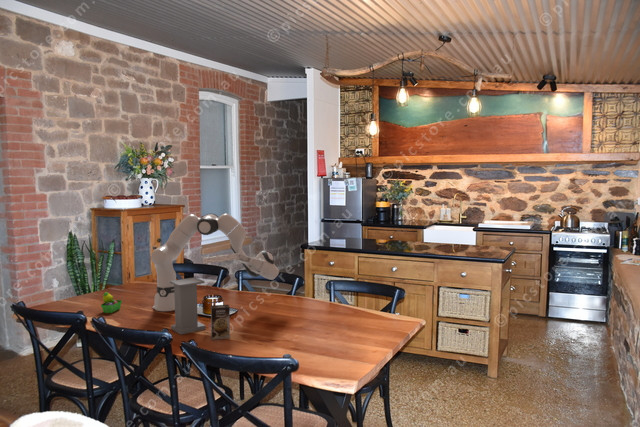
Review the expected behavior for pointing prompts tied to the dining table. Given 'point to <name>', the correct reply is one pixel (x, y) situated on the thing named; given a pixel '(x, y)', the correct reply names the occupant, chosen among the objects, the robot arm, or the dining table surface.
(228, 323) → the coffee box
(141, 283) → the dining table surface
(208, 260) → the beige wooden bar
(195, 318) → the shelf stand
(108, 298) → the fruit basket
